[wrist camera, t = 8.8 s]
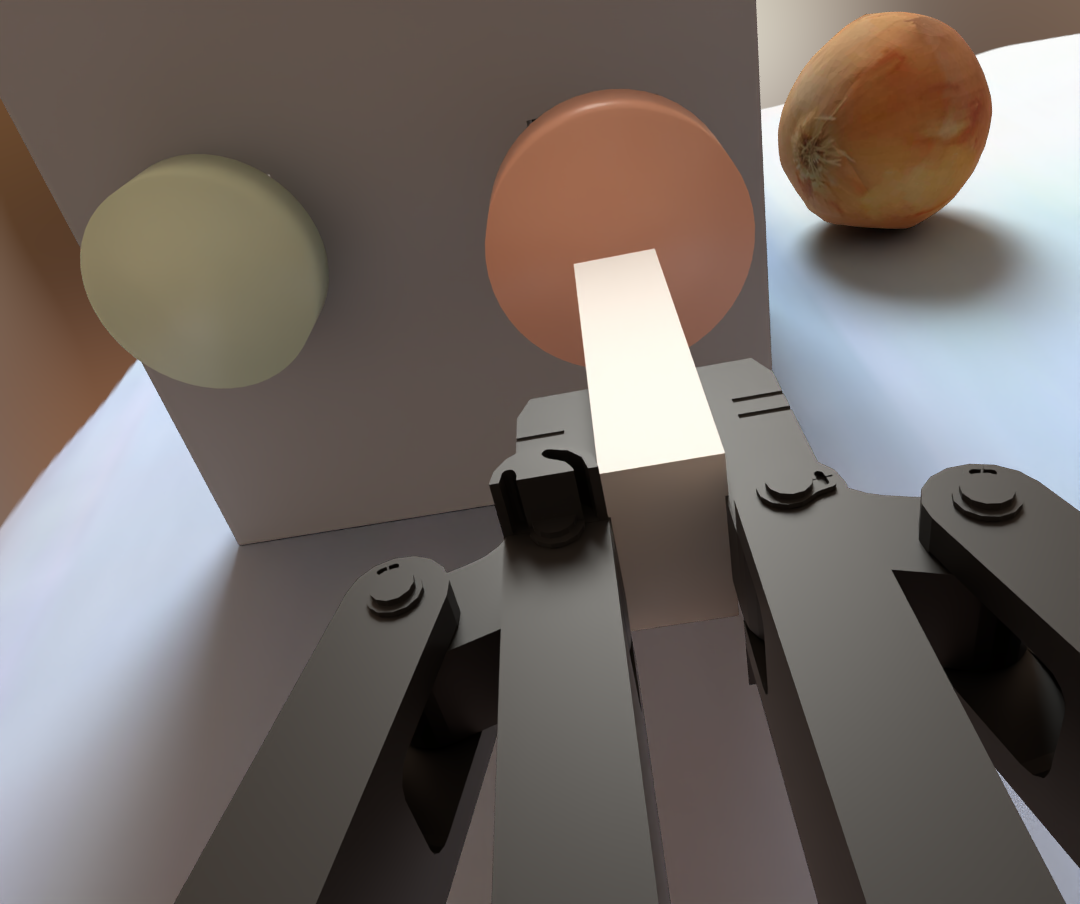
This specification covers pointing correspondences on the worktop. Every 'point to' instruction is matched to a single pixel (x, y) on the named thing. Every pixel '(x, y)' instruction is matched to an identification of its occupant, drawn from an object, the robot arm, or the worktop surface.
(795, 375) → the worktop surface
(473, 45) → the panel
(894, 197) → the onion
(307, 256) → the sage button
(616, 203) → the terracotta button
